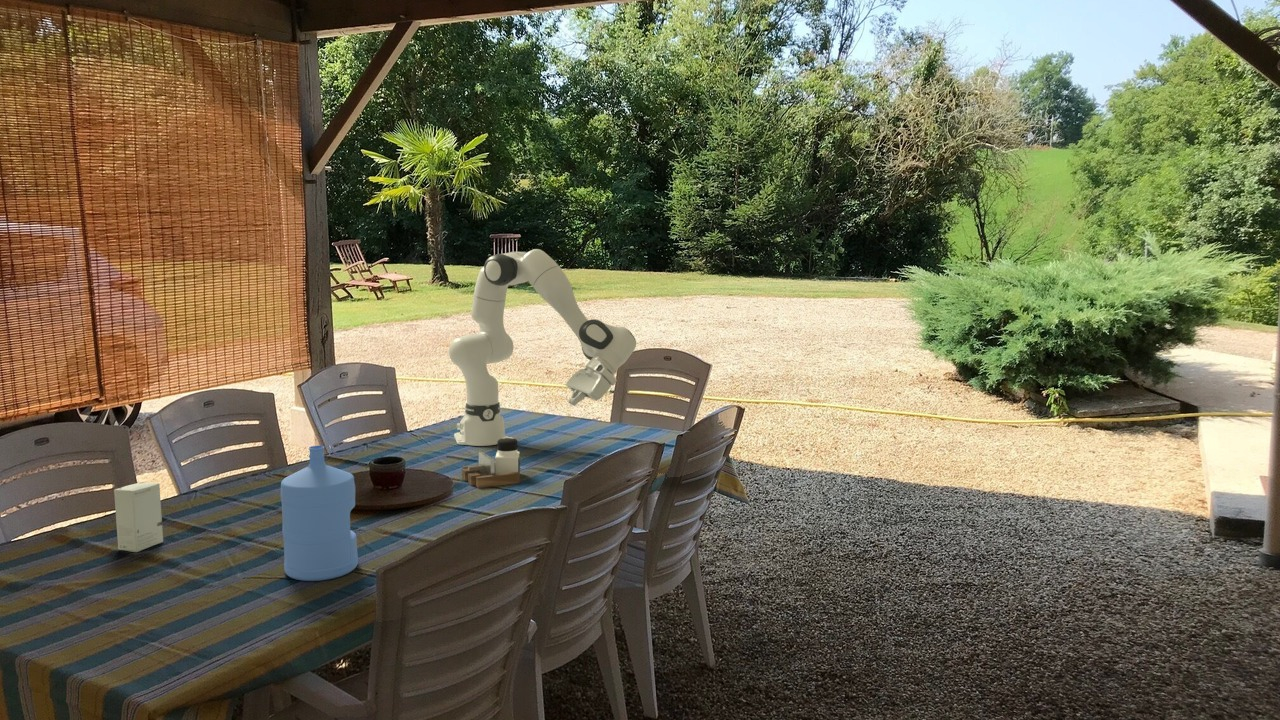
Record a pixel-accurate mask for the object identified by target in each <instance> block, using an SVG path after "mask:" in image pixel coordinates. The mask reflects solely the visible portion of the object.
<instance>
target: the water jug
mask: <svg viewBox="0 0 1280 720" xmlns="http://www.w3.org/2000/svg"><path fill="white" fill-rule="evenodd" d="M324 449H325V446H323V445H312V446H309V447H308V450H309V455H308V458H309V464H308V466H306V467H304V468H302V469H300V470H298V471H296V472H294V473H291V474H290V475H287V477H284V478H283V479H282V481H281V483H280V492H279V493H280V502H281V512H282V514H281V515H282V516H281V517H282V526H281V527H282V532H281V533H282V538H283V552H284V553H283V554H284V555H283V556H284V557H283V558H284V562H283V568H284V573H285V574H286V575H287V576H288V577H289V578H290V579H294V580H298V581H302V582H303V581H304V582H318V581H328V580H332V579H337V578H339V577H343V576H345V575H347V574H349V573H351V572H352V571H354V570H355V569H356V568H357V566H358V564H359V555H358V545H357V544H358V541H357V537H358V536H357V534H356V532H354V530H351V511H352V510H353V509H354V508H355V506H356V482H355V476H354V475H353V474H352V473H350V472H349V471H345V470H344V469H339V468H337V467H334V466H331V465H327V464H326V462H325V453H324Z"/></svg>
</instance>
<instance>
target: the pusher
mask: <svg viewBox="0 0 1280 720" xmlns="http://www.w3.org/2000/svg"><path fill="white" fill-rule="evenodd" d="M494 463H495V458H492V457H491V456H490V455H488V454H487V453H485V452H484V451H478V464H477V465H478V466H470V465H468V466H469V467H468V471H477V470H479V474H480V475H481V476H488V475H495V466H494Z"/></svg>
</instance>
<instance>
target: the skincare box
mask: <svg viewBox="0 0 1280 720" xmlns="http://www.w3.org/2000/svg"><path fill="white" fill-rule="evenodd" d="M160 487H161V485H160V483H159V482H158V483H157V482H147V481H140V482H136V483H133V484H129V485H125V486H121V487H119V488H115V489H114V490H113V494H114V506H115V507H114V509H115V520H116V521H115V522H116V524H115V525H116V536H117V549H118V550H119V551H125V552H126V551H127V552H130V553H131V552H133V553H138V552H141V551H143V550H145V549H146V550H147V549H148V548H150V547H153V546H155V545H159V544H162V543H163V542H164V534H163V533H164V532H163V518H162V505H161V504H162V502H161V489H160Z"/></svg>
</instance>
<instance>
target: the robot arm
mask: <svg viewBox="0 0 1280 720" xmlns="http://www.w3.org/2000/svg"><path fill="white" fill-rule="evenodd" d="M525 283H526V284H527V283H530V285H531V286H532V287H533V289H534V290H535V292H537V294H538V295H539V296H540V297H541V298H542V299H543V300H544V301H545V302H546V303H547V304H548V305H550V306H551V308H552V309H554V310H555V312H557V313H558V314H559V315H560V316H561V317H562V319H563V320H564V322H565V323H566V324H567V325H568V327H569V328H570V329H571V331H573V333H574V334H575V336H576V337H577V339H578V340H579V343H580V345H581V350H582V354H583V355H584V356H585V358H586V359H587V360H589V361H588V363H587V364H585V366H584V367H585V368H581V369H578V370H577V371H576V372H575V373H574V374H573V375H572V376H571V377H570V378H569V379H568V380H567V381H566V384H565V386H566V387H567V388H568V389H569V390H570V391H571V392H572V393H571V396H570V398H569V399H568V401H567V403H569V404H570V405H571V406H574V407H576V405H578V403H580V402H581V401H583V400H584V399H585V398H588V399H590V400H593V401H595V402H596V401H599V400H600V399H602V398H603V397H604V396H605V394H606V393H608V391H609V390H610V389H611V387H612V386H614V385H616V384H617V381H618V380H617V378H616V377H615V375H616V373H617V372H618V369H619V368H620V367H621V366H622V365H624V364H625V363H626V362H627V361H628V359H629V358H630V356H631V355H632V354H633V353H634V351H635V349H636V347H637V340H636V338H635V336H634V335H633V333H632V332H631V331H630V330H629V329H628V328H627V327H624V326H614V325H609V324H607V323H605V322H602V321H601V320H599V319H588V318H587V317H586V315H585V313H583V311H582V310H581V308H580V307H579V305H578V302H577V300H576V297H575V294H574V291H573V287H572V285H571V282H570V280H569V278H568V277H567V274H566V273H565V272H564V271H563V269H562V267H560V266H559V264H558V263H557V262H556V261H555V260H554V259H553V258H552V257H551V256H549V254H547V253H546V252H545V251H544V250H542V249H539V248H534V249H532V250H531V249H530V250H529V251H509V252H505V253H497V254H493V255H491V256H490V257H488V258H487V259H486V260H485V263H484V265H483V266H482V267H481V268H480V270H479V272H478V275H477V279H476V281H475V286H474V289H473V290H474V291H473V296H472V304H471V311H470V312H471V313H470V315H471V318H472V319H473V321H475V322H476V323H477V324H478V325H479V332H478V333H474V334H465V335H462V336H459V337H457V338H454V339H453V340H452V341H450V345H449V347H448V355H449V358H450V360H451V362H452V363H453V364H454V365H456V366H457V367H458V368H459V370H460V372H462V374H463V377H464V380H465V381H464V382H465V387H466V404H465V407H464V408H465V409H464V412H465V413H464V416H463V417H462V418H461V420H460V421H459V422H457V423H456V429H457V430H458V431H459V430H460V431H459V432H458V431H457V432H455V433H454V434H453V437H454V439H455V441H456V443H457V445H460V446H461V445H463V446H464V445H465V446H476V447H477V446H478V447H480V446H481V447H484V446H485V447H486V446H494V445H495V446H496V445H498V443H497V441H498V440H499V439H501V438H508V437H509V436H508V435H507V434H506V433H505V432H506V431H505V430H506V429H505V420H504V417H503V416H502V414H500V412H501V404H500V401H499V382H498V380H497V379H496V378H495V377H494V376H493V375H492V374H491V375H490V373H489V371H488V364H490V365H491V364H494V363H495V364H496V363H500V362H503V361H505V360H507V359H509V358H510V357H511V356H512V355H513V352H514V342H513V339H512V338H511V336H510V335H509V334H508V333H507V331H506V328H505V325H504V313H505V306H506V299H507V292H508V288H509V286H516V285H520V284H525Z"/></svg>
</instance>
